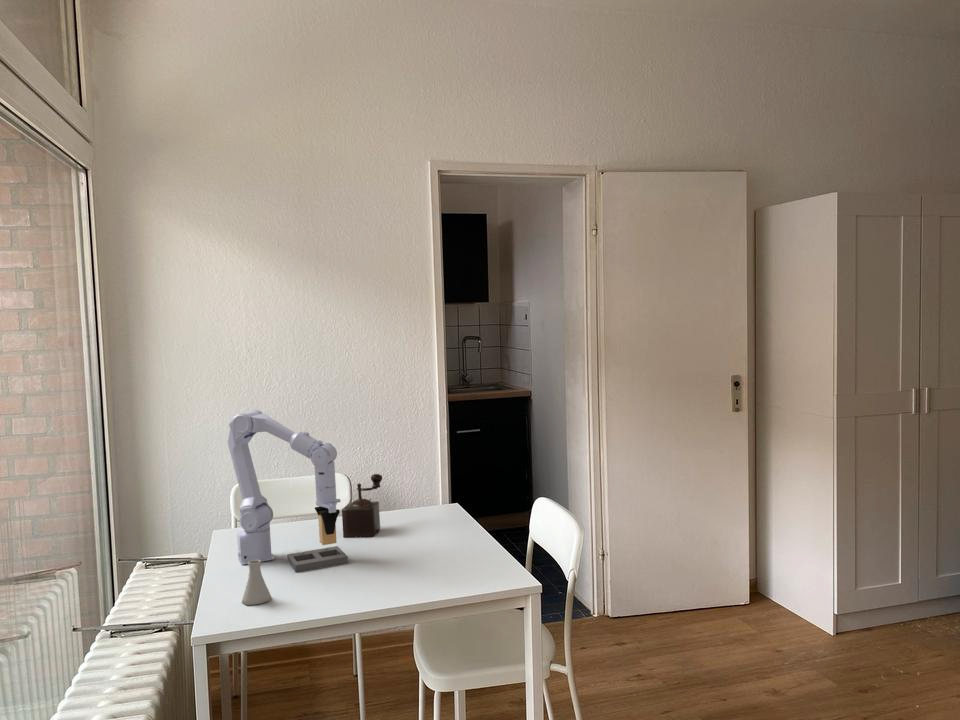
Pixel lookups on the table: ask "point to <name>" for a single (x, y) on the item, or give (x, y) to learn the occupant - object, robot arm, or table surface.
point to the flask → (255, 586)
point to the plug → (323, 536)
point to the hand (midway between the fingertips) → (328, 532)
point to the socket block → (317, 558)
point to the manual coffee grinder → (362, 514)
